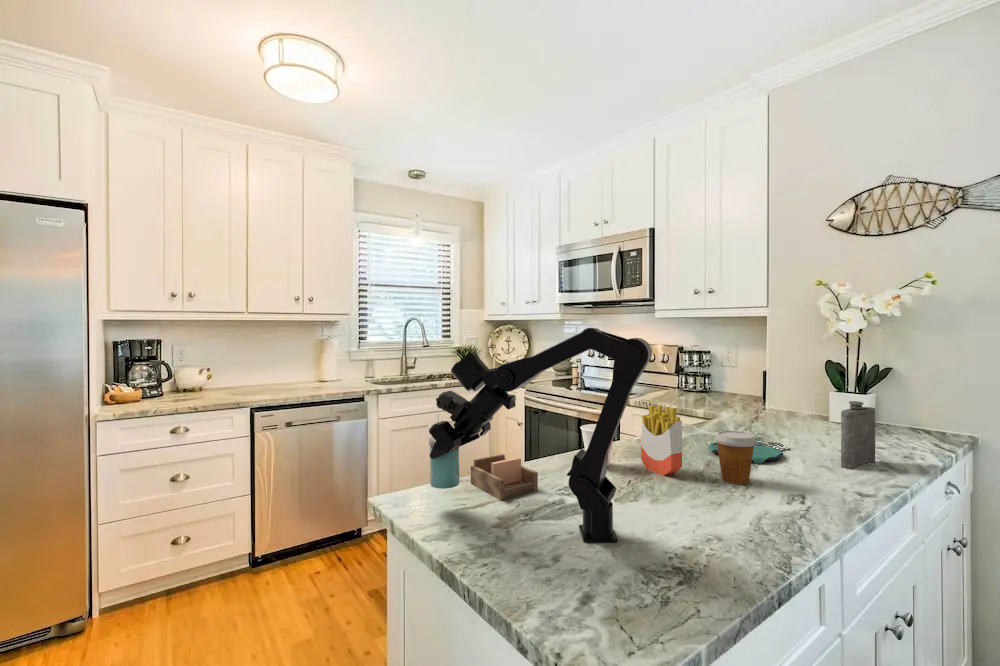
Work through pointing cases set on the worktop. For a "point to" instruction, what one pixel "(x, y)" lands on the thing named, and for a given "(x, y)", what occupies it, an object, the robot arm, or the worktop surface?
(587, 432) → the cup
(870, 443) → the flask
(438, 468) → the teal lidded canister
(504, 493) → the small wooden crate
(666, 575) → the worktop surface
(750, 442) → the disposable coffee cup
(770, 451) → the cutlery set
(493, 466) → the bar
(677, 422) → the french fries container
